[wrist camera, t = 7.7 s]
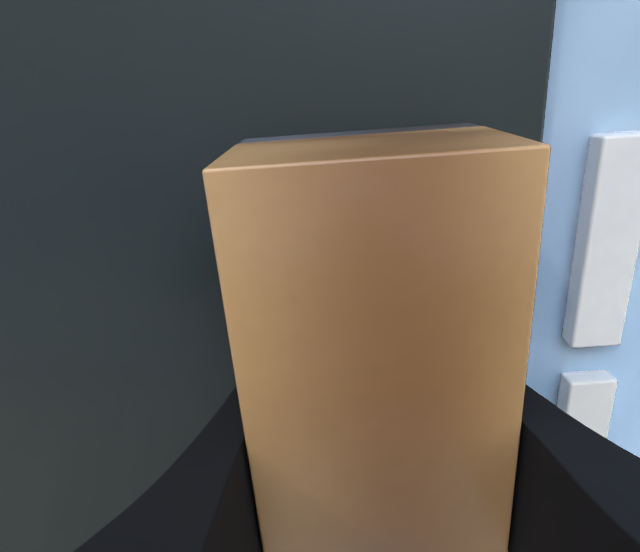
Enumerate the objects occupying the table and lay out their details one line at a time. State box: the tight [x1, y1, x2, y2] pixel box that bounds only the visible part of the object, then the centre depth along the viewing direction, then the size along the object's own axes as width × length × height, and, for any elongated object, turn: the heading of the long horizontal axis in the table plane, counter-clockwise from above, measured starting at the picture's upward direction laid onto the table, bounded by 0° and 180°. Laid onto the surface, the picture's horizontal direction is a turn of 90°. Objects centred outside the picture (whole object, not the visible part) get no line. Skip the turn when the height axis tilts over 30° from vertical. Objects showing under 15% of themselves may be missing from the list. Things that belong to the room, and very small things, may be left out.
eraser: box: [202, 122, 551, 552], centre depth 10 cm, size 4×12×4 cm, turn 4°
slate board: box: [0, 0, 556, 552], centre depth 12 cm, size 20×25×1 cm
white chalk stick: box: [562, 130, 640, 348], centre depth 11 cm, size 1×5×1 cm, turn 3°
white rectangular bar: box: [557, 370, 618, 439], centre depth 13 cm, size 1×5×1 cm, turn 4°
